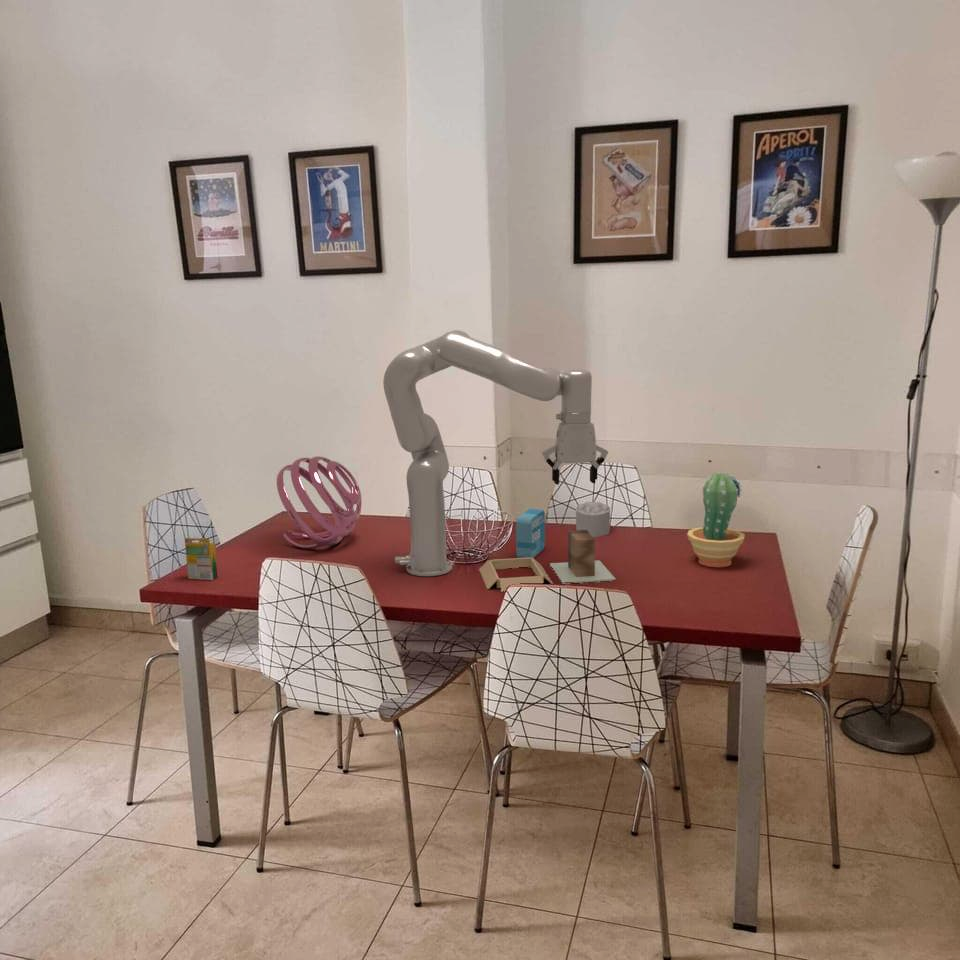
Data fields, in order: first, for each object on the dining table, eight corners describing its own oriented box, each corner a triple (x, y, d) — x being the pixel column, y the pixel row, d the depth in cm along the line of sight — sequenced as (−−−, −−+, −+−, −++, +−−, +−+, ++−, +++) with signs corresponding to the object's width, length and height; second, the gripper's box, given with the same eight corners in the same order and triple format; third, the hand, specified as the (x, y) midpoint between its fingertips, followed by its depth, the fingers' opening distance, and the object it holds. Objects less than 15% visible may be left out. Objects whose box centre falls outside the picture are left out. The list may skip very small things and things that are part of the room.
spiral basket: (233, 486, 259) (303, 436, 252) (283, 488, 285) (348, 442, 279) (277, 569, 253) (350, 519, 247) (323, 563, 280) (391, 518, 273)
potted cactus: (749, 571, 235) (754, 479, 229) (691, 571, 236) (694, 479, 230) (737, 553, 250) (741, 467, 244) (681, 553, 251) (684, 467, 246)
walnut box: (575, 577, 231) (575, 540, 229) (567, 566, 240) (567, 530, 238) (595, 575, 232) (595, 538, 230) (586, 565, 241) (586, 529, 238)
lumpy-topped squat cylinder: (610, 526, 281) (610, 499, 279) (608, 537, 268) (609, 510, 266) (577, 525, 283) (577, 499, 281) (574, 536, 270) (574, 509, 268)
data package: (531, 560, 248) (530, 519, 245) (516, 558, 250) (515, 517, 247) (545, 548, 259) (544, 508, 256) (530, 546, 261) (530, 507, 258)
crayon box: (218, 576, 240) (214, 535, 237) (213, 580, 237) (209, 539, 234) (193, 575, 241) (189, 534, 239) (188, 579, 238) (183, 538, 236)
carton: (488, 593, 223) (488, 583, 222) (477, 567, 243) (477, 557, 243) (556, 588, 225) (556, 578, 224) (539, 563, 245) (539, 553, 245)
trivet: (562, 584, 228) (562, 582, 228) (549, 565, 243) (549, 563, 243) (615, 581, 229) (615, 578, 229) (599, 562, 245) (599, 560, 245)
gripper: (546, 421, 223) (545, 487, 226) (612, 419, 225) (610, 485, 229) (540, 416, 230) (539, 480, 234) (604, 415, 232) (602, 478, 236)
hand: (574, 482), depth 231 cm, fingers open, 9 cm apart
